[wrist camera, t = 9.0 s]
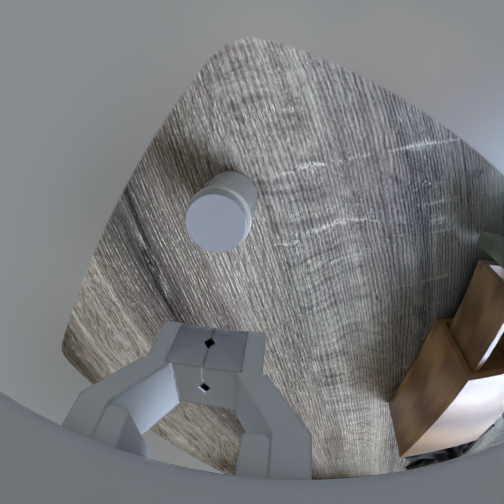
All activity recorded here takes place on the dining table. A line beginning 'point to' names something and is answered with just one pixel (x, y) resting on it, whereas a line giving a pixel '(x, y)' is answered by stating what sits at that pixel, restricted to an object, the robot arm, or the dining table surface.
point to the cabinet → (444, 397)
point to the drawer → (483, 310)
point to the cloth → (441, 454)
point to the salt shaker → (222, 212)
